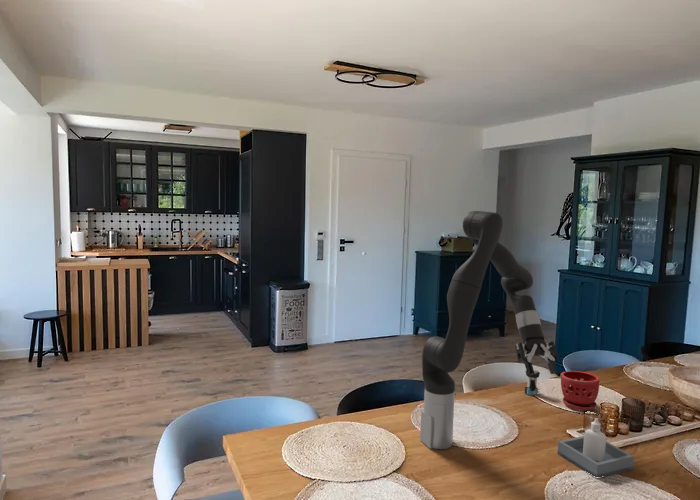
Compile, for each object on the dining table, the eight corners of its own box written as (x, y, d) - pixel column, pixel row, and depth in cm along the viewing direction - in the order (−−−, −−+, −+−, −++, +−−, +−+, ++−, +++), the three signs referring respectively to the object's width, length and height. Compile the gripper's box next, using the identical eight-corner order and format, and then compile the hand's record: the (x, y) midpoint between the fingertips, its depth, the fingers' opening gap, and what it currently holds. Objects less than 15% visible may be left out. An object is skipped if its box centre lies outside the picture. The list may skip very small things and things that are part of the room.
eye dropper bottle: (592, 452, 143) (595, 414, 142) (606, 462, 137) (610, 422, 136) (580, 454, 141) (583, 415, 140) (594, 463, 136) (597, 423, 135)
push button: (535, 390, 194) (537, 366, 193) (544, 395, 188) (545, 371, 188) (521, 391, 192) (522, 367, 191) (529, 397, 187) (531, 372, 186)
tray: (596, 478, 130) (597, 465, 130) (557, 453, 143) (558, 441, 143) (632, 469, 135) (633, 456, 135) (591, 446, 148) (592, 434, 148)
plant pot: (599, 404, 181) (601, 373, 180) (595, 416, 170) (597, 384, 169) (562, 396, 188) (564, 367, 187) (556, 407, 177) (558, 376, 176)
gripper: (517, 323, 156) (531, 372, 149) (553, 322, 160) (568, 370, 153) (505, 330, 162) (517, 377, 155) (540, 328, 166) (553, 375, 159)
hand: (542, 374), depth 154 cm, fingers open, 8 cm apart
